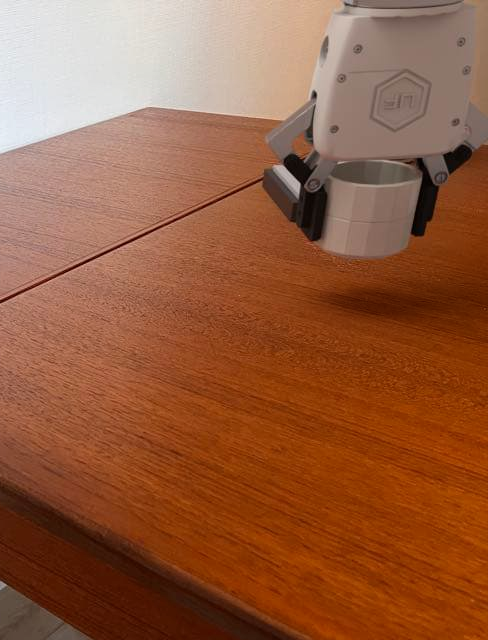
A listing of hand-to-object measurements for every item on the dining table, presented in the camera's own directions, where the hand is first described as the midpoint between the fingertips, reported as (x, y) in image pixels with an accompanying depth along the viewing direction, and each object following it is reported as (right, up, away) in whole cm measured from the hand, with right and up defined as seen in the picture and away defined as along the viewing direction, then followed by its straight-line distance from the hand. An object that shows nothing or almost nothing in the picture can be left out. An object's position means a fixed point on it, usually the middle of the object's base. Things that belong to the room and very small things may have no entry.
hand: (360, 231), depth 68 cm
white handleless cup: (0, -1, +1) cm, 1 cm away
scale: (+9, +8, +24) cm, 27 cm away
